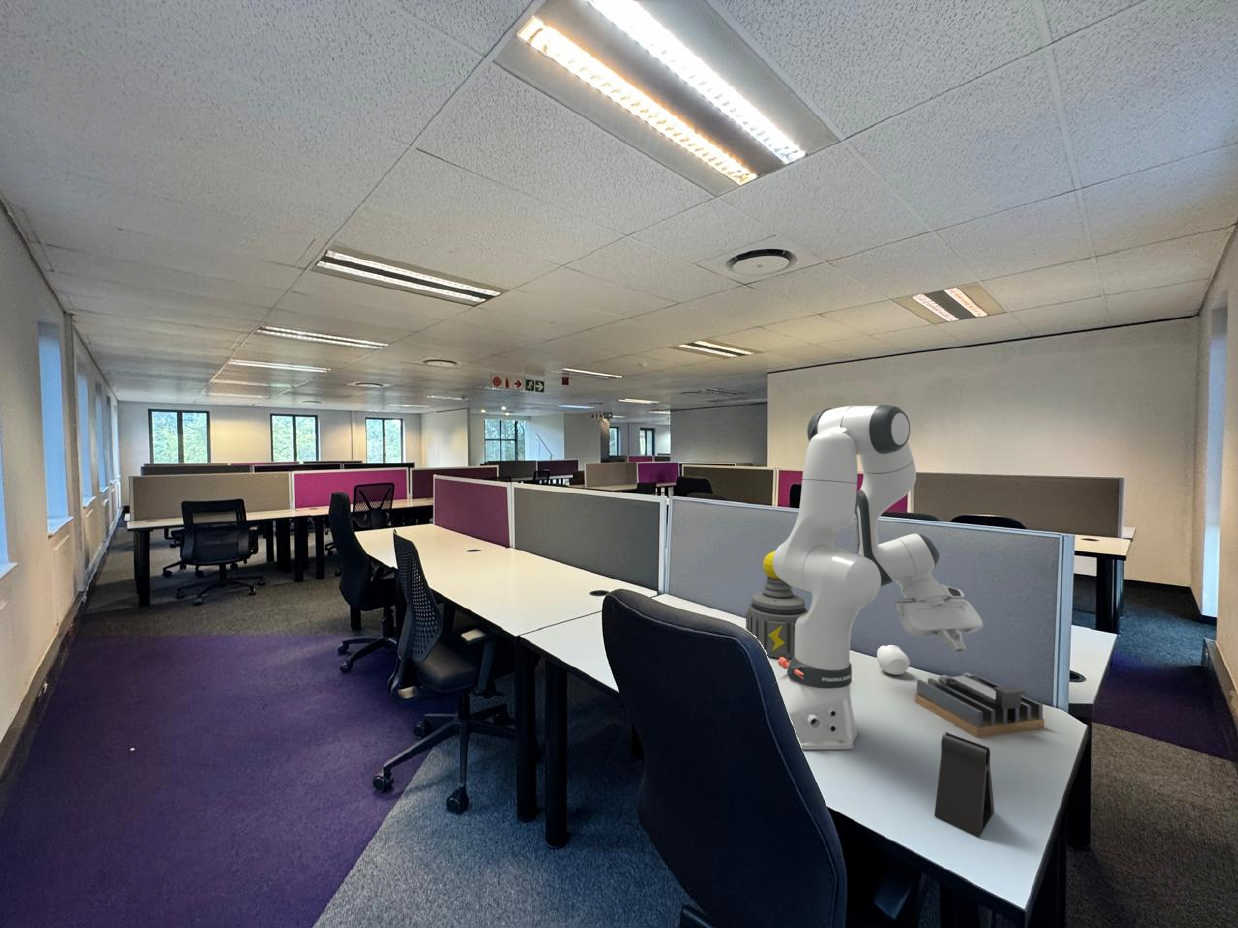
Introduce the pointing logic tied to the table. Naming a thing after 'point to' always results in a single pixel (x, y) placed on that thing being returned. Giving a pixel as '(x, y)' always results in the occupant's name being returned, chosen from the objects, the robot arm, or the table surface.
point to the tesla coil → (775, 614)
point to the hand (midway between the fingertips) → (959, 650)
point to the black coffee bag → (964, 785)
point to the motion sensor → (892, 659)
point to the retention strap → (975, 688)
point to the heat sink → (980, 706)
